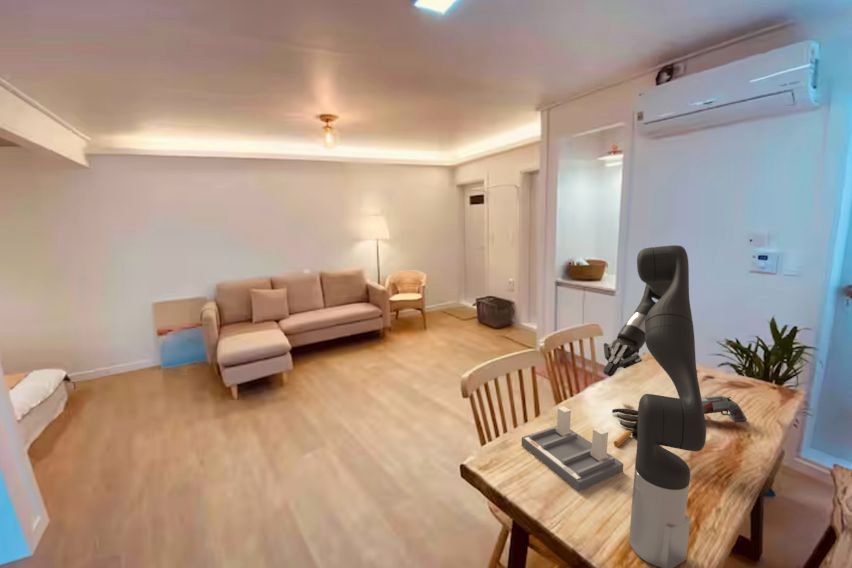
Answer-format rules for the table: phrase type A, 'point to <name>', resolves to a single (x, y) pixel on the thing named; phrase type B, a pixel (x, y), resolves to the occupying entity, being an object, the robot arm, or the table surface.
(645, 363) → the table surface
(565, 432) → the far tab
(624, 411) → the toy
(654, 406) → the robot arm
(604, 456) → the near tab
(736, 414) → the toy gun
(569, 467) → the switch box
